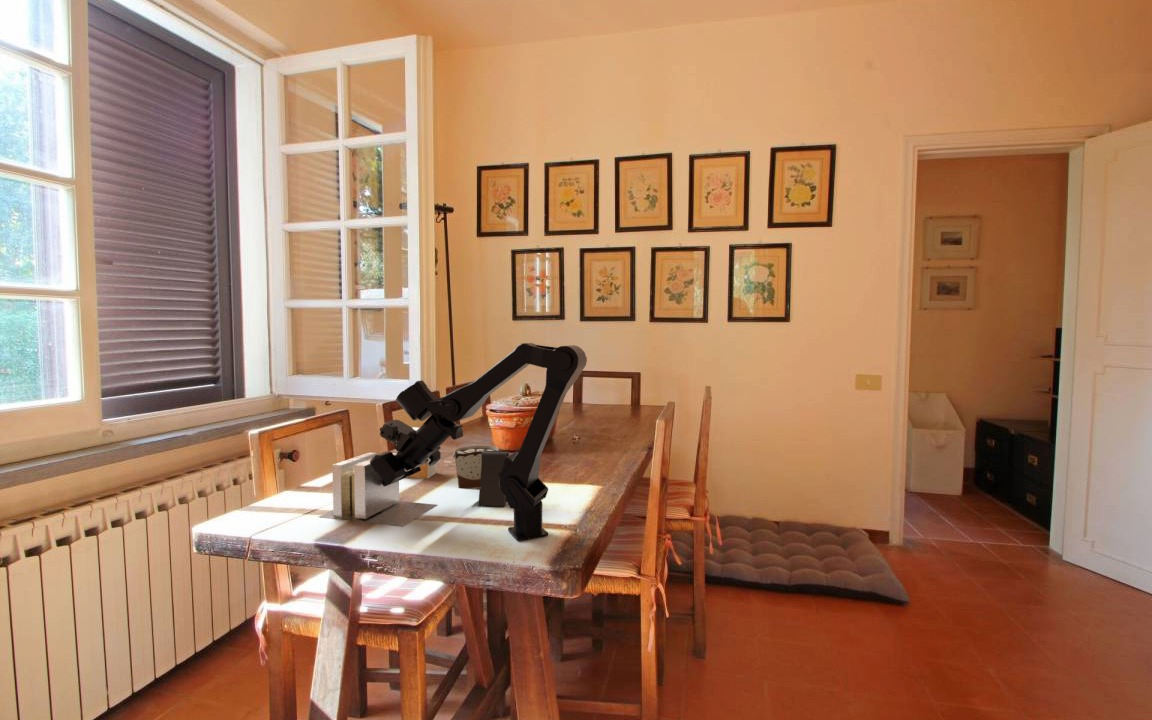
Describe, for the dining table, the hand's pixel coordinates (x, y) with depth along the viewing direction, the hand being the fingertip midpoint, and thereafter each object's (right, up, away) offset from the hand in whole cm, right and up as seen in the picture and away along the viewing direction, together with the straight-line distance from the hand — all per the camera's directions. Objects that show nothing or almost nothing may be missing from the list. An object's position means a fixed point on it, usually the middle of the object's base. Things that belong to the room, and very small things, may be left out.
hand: (383, 484), depth 117 cm
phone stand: (+22, -7, +13) cm, 26 cm away
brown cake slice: (+15, -6, +26) cm, 30 cm away
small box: (-3, -6, +35) cm, 36 cm away
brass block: (-4, -6, +1) cm, 7 cm away
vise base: (-1, -7, +1) cm, 7 cm away
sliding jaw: (-2, -6, +1) cm, 6 cm away
